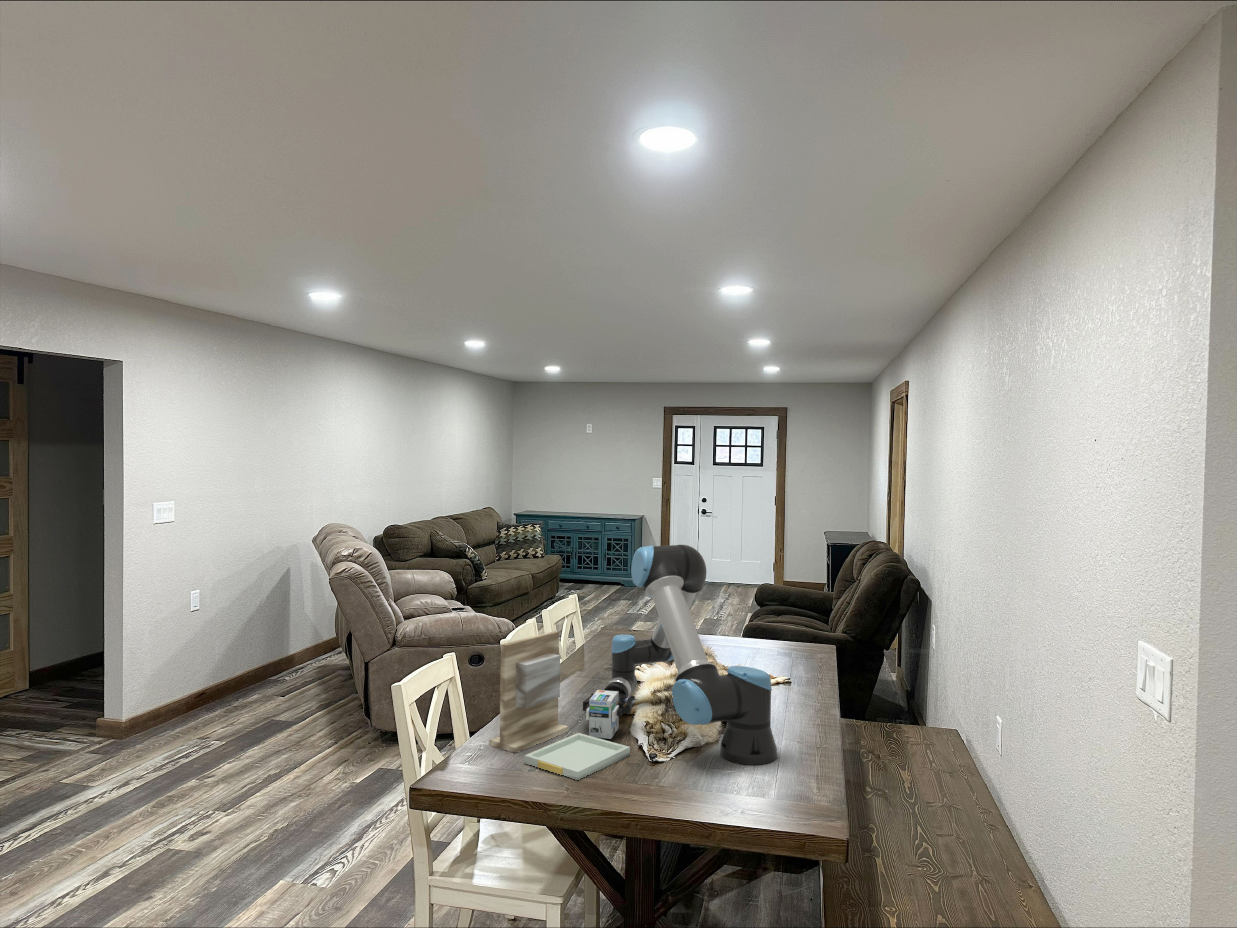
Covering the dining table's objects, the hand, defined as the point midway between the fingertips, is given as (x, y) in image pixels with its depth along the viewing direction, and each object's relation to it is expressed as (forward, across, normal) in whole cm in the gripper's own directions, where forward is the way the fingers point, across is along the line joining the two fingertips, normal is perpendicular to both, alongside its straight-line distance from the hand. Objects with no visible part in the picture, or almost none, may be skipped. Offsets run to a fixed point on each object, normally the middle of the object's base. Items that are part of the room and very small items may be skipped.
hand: (600, 715), depth 227 cm
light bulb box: (-5, 0, -6) cm, 8 cm away
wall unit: (+2, +20, -7) cm, 21 cm away
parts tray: (+15, +3, -7) cm, 17 cm away
